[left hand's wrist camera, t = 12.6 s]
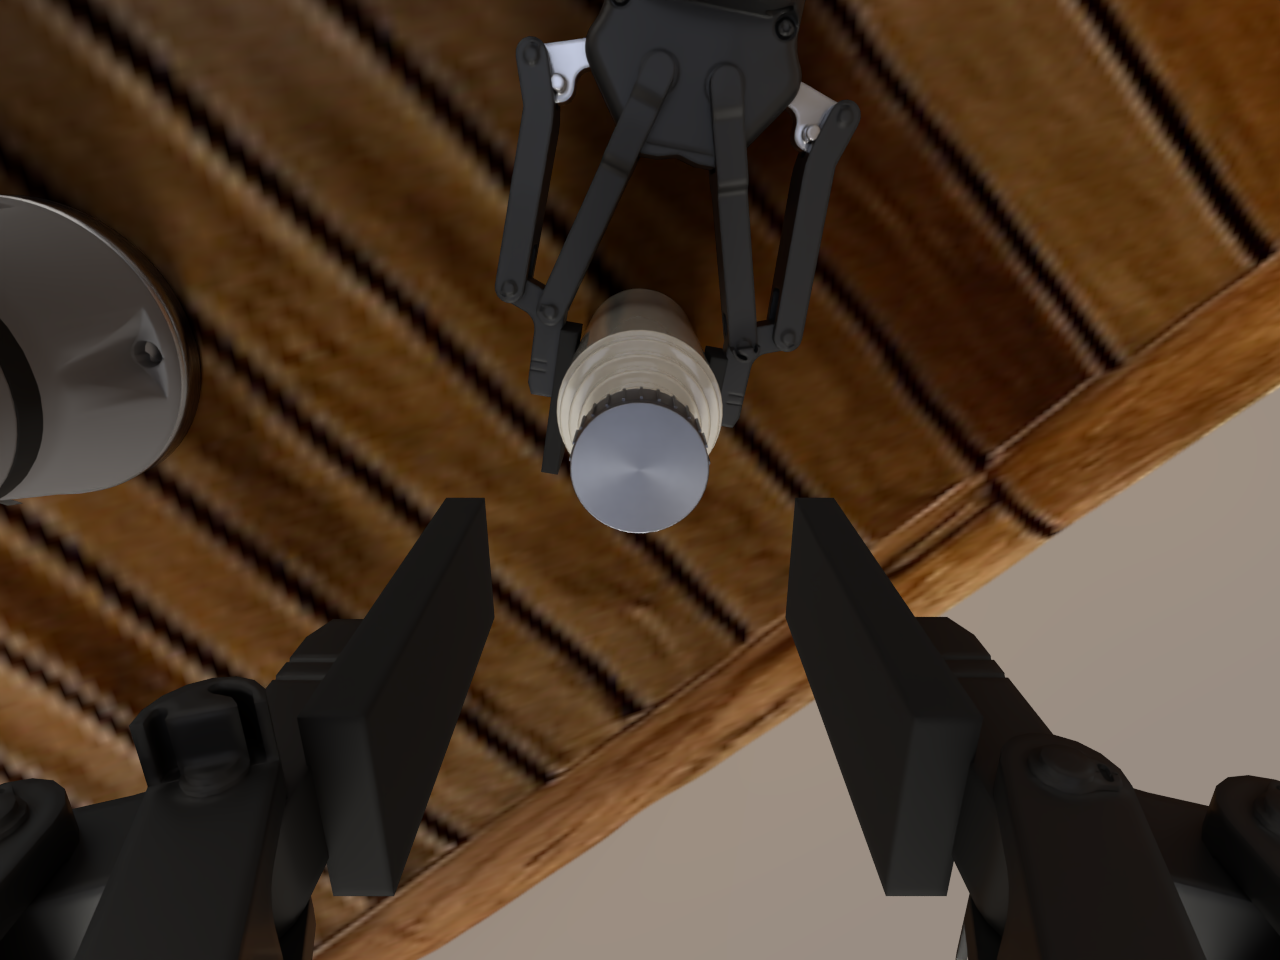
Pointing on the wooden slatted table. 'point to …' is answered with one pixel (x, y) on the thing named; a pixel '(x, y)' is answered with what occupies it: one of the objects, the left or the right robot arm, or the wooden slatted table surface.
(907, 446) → the wooden slatted table surface
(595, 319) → the bottle
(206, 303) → the wooden slatted table surface
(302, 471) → the wooden slatted table surface
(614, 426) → the cap
